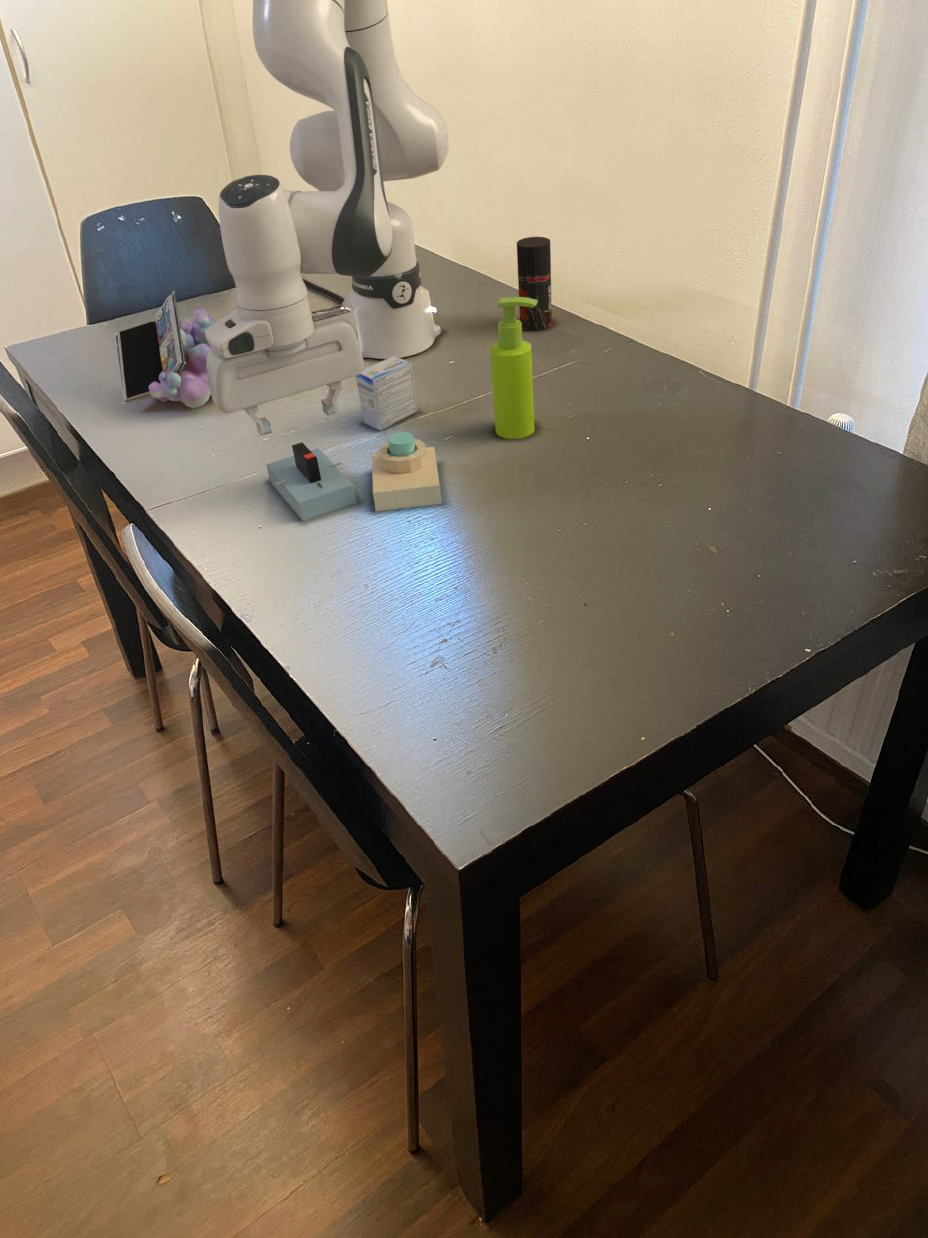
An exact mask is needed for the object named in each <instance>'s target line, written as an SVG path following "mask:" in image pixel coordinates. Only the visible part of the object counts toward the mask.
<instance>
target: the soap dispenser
mask: <svg viewBox="0 0 928 1238" xmlns="http://www.w3.org/2000/svg"><path fill="white" fill-rule="evenodd" d="M537 302H538V300H535V299H531V298H526V297H519V296H511V297H501V298H499V300H498V302H497V308H502V320H500V321H499V322H498V323H497V335H498V337H497V338H498V341H497V342H496V343H494V344H493V345H491V346H490V349H489V350H490V351H489V352H490V365H491V379H492V394H493V395H492V396H493V408H494V409H493V411H494V426H495V433H496V435H497V436H499V437H501V438H503V439H507V440H518V439H519V440H520V439H524V438H526V437H527V438H528V437H529V436H531V435H532V434H533V433H534V431H535V408H534V406H535V405H534V382H533V379H534V378H533V357H532V356H533V354H532V353H533V352H532V344H531V343H530V342H529V341H526V340H523V329H522V323H521V321H520V319H517V318H516V307H519V306H525V307H531V308H534V307H535V306H536V304H537Z"/></svg>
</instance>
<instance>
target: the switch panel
mask: <svg viewBox="0 0 928 1238" xmlns="http://www.w3.org/2000/svg"><path fill="white" fill-rule="evenodd" d="M309 450H310V451H311V452H312V453H313V454H314V455H315V456H316V457H317V461H318V466H319V471H320V475H321V480H319V481H316V482H313V483H310V482H309V481H308V480H307V478H306V477H305V476H304V475H303V474H302V473H301V472H300V471H299V470H298V468H297V467H296V463H295V458H294V455H291V456H288V457H285V458H283V459H282V458H281V459H279V460H276V461H273V462H270V463H267V464H266V469H267V473H268V477H269V481H270V483H271V484H272V486H273V488H275V490H277V492H278V493H279V494H280V496H281V497H282V498H283V499H284V500H285V501H286V503H287V504H288V505H289V506H290V508H291V509H292V510H293V512H295V514H296V515H297V516H298V517H299V518H300V520H301V521H302V522H305V521H309V520H312V519H314V518H317V517H320V516H322V515H323V516H324V515H326V514H328V513H332V512H335V511H337V510H340V509H344V508H346V507H348V506H349V507H350V506H352V505H354V504H357V502H358V501H357V496H356V491H355V490H356V489H355V485H354V483H353V481H351V480H350V479H349V478H348V477H347V476H346V475H345V474H344V472H342V471H341V470H340V469H339V468H338V467H337V466H339V465H341V464H342V462H341V461H339V462H335V463H333V462H332V461H331V460H330V459H329V457H327V456H326V455H325V453H323V452H322V450H320V448H319V447H316V448H313V449H309Z"/></svg>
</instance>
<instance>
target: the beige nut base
mask: <svg viewBox="0 0 928 1238" xmlns="http://www.w3.org/2000/svg"><path fill="white" fill-rule="evenodd" d="M414 443H415V452H414V453H413V454H411V455H408V456H403V457H396V456H391V455H390V452H389V445H388V441H387V442H385V443H384V444H382V445H381V447H379V448H378V453H371V478H372V482H371V483H372V495H373V496H372V497H373V503H374V509H375V510H374V511H375V512H383V511H384V512H385V511H392V510H400V509H409V508H417V507H426V506H435V505H441V504H442V503H443V502H442V494H441V484H440V477H439V471H438V464H437V456H436V450H435V446H428V447H427V446H426V443H425V442H423V441H422V440H420V439H417V438H414Z"/></svg>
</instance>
